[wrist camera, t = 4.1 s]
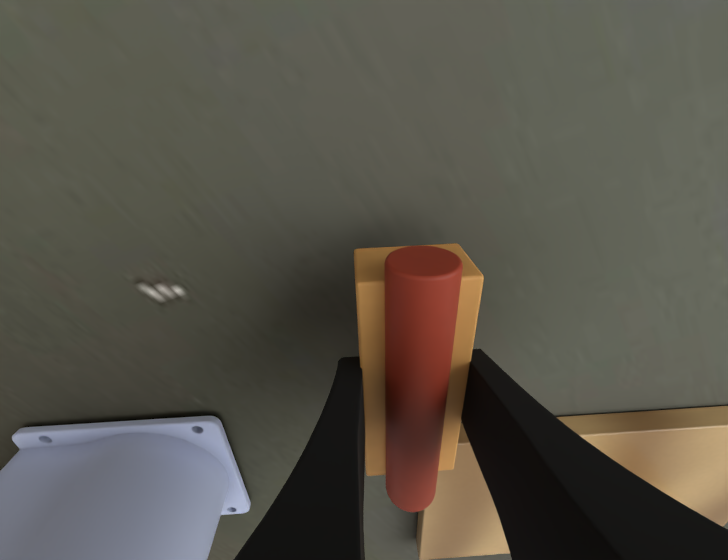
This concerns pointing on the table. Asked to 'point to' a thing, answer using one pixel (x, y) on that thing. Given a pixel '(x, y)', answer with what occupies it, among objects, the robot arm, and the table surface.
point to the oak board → (615, 439)
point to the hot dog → (414, 361)
